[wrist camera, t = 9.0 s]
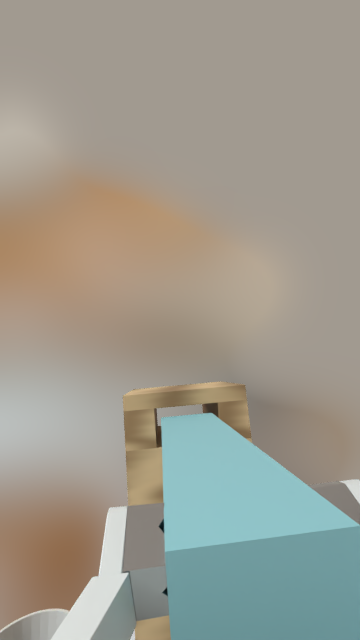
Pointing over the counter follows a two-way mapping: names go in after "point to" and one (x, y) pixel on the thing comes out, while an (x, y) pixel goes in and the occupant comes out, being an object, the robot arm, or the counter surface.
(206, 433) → the cover plate
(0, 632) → the coffee mug
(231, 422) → the oak box
